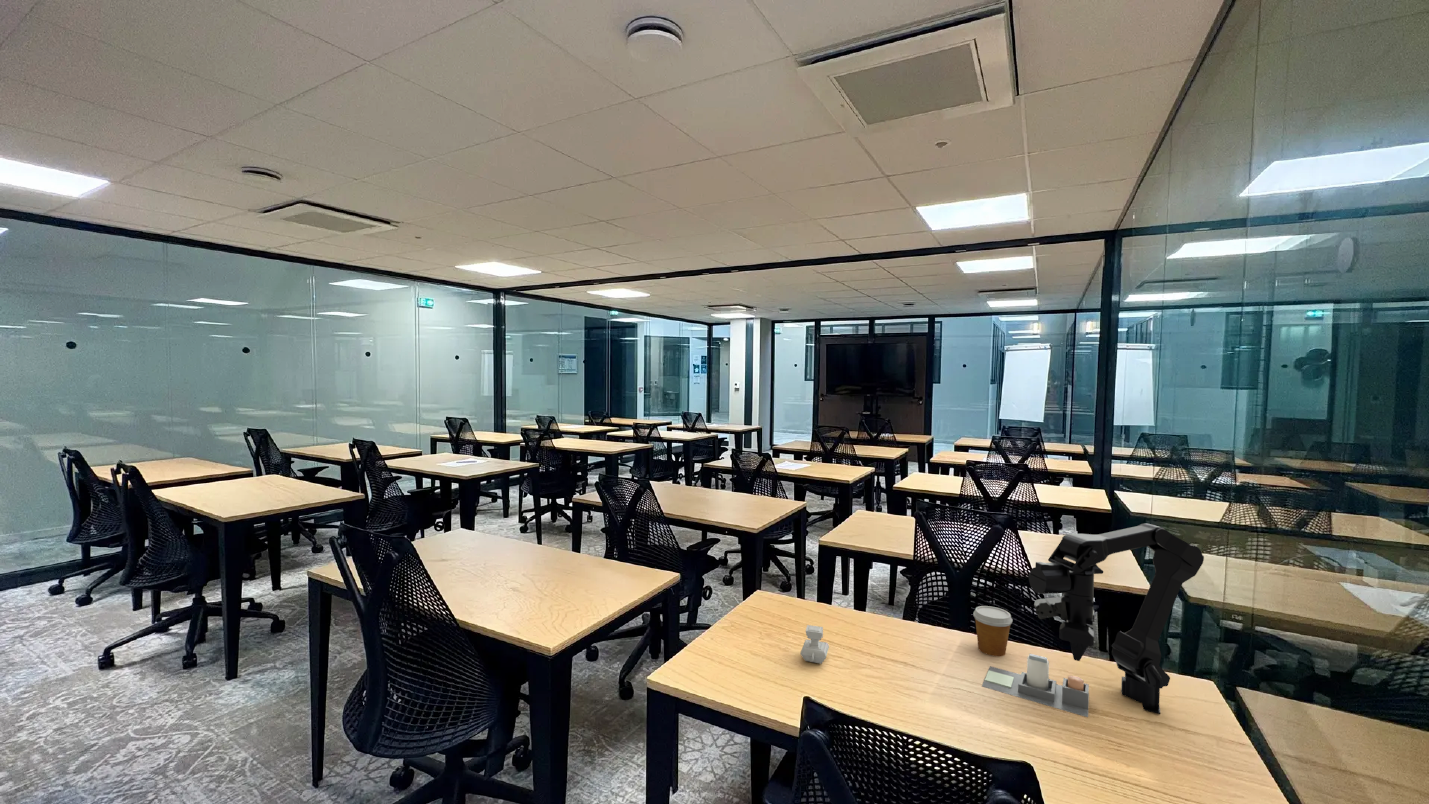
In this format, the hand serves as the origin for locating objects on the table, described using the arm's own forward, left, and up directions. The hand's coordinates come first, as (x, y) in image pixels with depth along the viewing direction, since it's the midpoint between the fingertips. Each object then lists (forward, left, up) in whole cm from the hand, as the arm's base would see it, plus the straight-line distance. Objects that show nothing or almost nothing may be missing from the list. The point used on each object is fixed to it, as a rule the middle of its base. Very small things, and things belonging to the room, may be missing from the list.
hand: (1076, 659), depth 125 cm
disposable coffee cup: (+20, -16, -11) cm, 28 cm away
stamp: (+58, +15, -11) cm, 61 cm away
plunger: (0, 0, -8) cm, 8 cm away
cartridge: (+8, 0, -9) cm, 12 cm away
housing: (+8, 0, -11) cm, 14 cm away
